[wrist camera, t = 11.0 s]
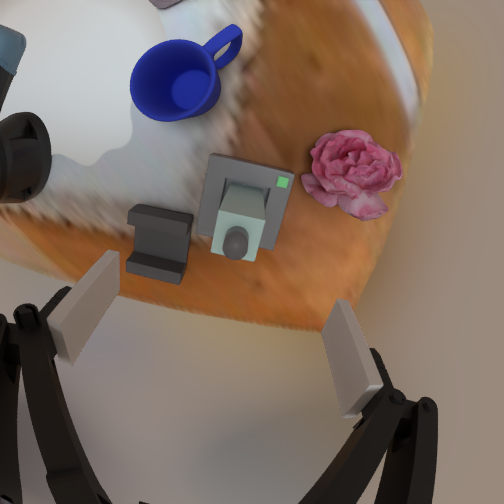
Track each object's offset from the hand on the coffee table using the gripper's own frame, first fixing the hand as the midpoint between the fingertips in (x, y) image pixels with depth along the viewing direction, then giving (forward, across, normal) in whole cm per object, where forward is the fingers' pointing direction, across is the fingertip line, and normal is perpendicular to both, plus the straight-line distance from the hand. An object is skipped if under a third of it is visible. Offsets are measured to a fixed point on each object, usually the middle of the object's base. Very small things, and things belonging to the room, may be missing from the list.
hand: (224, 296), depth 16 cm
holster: (+22, -10, -8) cm, 25 cm away
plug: (+21, 0, 0) cm, 21 cm away
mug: (+22, -8, +14) cm, 27 cm away
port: (+22, 0, 0) cm, 22 cm away
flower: (+22, +11, +8) cm, 26 cm away
